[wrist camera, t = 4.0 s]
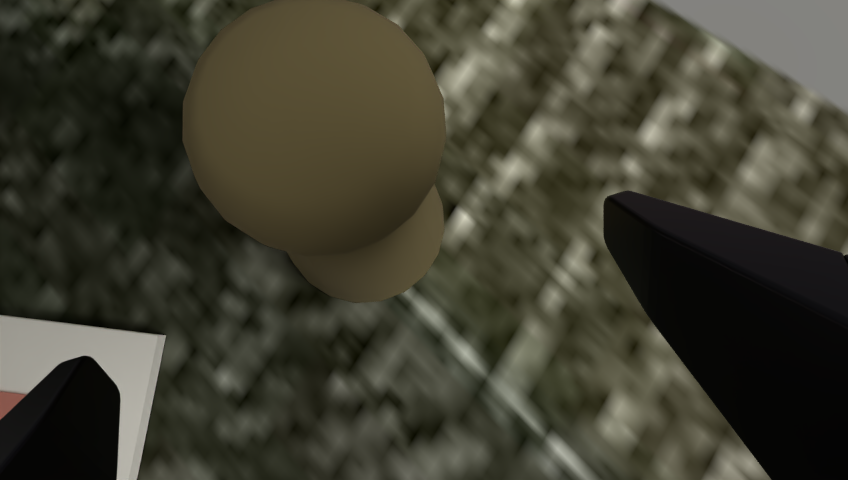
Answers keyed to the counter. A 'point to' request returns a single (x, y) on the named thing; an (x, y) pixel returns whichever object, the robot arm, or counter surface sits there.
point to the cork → (322, 143)
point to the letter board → (111, 348)
